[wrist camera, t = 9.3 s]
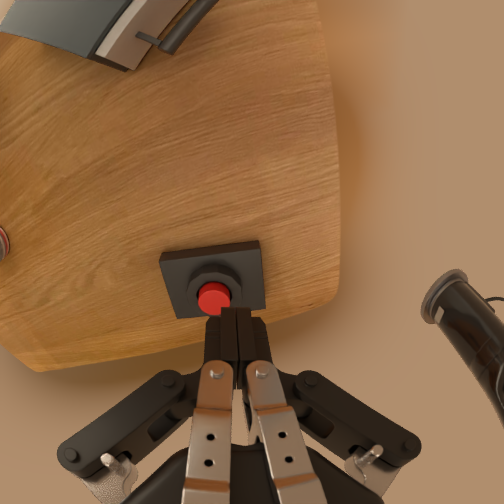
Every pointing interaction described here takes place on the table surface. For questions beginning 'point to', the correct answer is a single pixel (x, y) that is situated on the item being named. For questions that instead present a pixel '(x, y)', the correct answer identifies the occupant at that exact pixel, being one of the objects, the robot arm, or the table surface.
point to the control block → (214, 276)
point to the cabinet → (66, 24)
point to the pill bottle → (3, 244)
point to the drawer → (149, 29)
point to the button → (213, 298)
